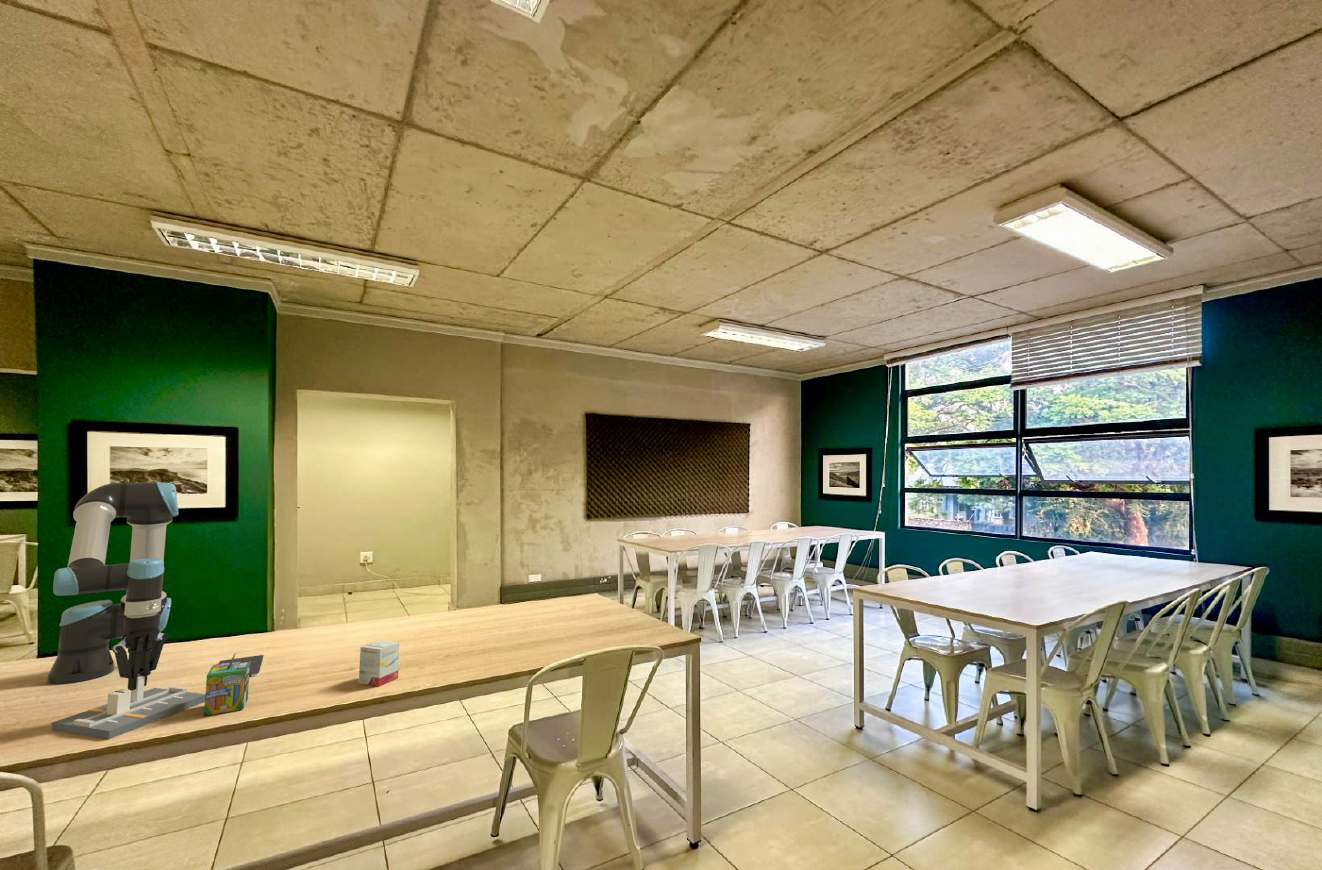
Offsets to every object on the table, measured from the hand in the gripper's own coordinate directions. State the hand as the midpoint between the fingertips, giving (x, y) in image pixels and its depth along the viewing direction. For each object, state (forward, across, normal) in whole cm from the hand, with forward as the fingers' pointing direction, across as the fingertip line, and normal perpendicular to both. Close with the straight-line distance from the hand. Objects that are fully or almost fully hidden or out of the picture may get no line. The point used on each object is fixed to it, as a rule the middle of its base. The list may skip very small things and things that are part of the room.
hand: (136, 700), depth 154 cm
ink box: (+4, +38, -47) cm, 61 cm away
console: (+4, 0, 0) cm, 4 cm away
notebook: (+5, +35, +6) cm, 36 cm away
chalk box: (+4, +10, -20) cm, 23 cm away
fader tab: (+2, -4, 0) cm, 5 cm away
